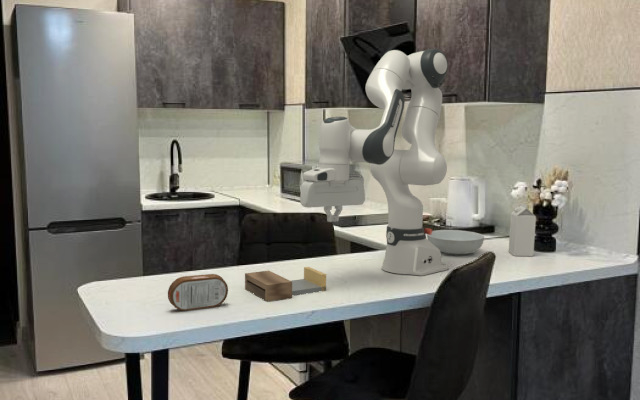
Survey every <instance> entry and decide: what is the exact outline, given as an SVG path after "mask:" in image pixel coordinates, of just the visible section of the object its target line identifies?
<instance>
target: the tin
mask: <svg viewBox="0 0 640 400" xmlns="http://www.w3.org/2000/svg"><path fill="white" fill-rule="evenodd" d="M228 294H229V286H228V283H227V282H226V281H225V280H224V278H223V277H221V276H220V275H218V274H216V273H208V274H207V273H206V274H198V275H197V274H196V275H195V274H194V275H185V276H180V277H178V278H175V280H173V281H172V283H171V284H170V285H169V287H168V290H167V298H168V301H169V303H170V304H171V305H172V307H174V308H175V309H177V310H179V311H184V312H185V311H186V312H187V311H195V310H203V309H204V310H205V309H210V308H216V307H219V306H220V305H221V304H224V302H225V301H226V300H227V297H228Z"/></svg>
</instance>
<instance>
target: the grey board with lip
mask: <svg viewBox="0 0 640 400" xmlns="http://www.w3.org/2000/svg"><path fill="white" fill-rule="evenodd" d="M291 281H292V295H294V296H300V294H301V295H307V294H306V293H308V294H313V292H315V293H320V292H319V291H322V292H326V291H327V273H325V272H322V271H320V270H317V269H315V268H312V267H310V266H305V267H303V278H300V279H294V280H291Z"/></svg>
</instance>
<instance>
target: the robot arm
mask: <svg viewBox="0 0 640 400" xmlns="http://www.w3.org/2000/svg"><path fill="white" fill-rule="evenodd" d="M448 70H449V63H448V58H447V56H446V55H445V53H444V52H443V51H442V50H440V49H439V48H438V49H437V48H429V49H428V48H427V49H425V50H423V51H422V50H421V51H417V52H413V53H411V54H409V55H407V54H406V53H405V52H403V51H401V50H399V49H393V50H388V51H387V52H385V53H384V55H383V56H381V58H380V60H378V62H377V63H376V65H375V66H374V67H373V69H372V70H371V72H370V74H369V76H368V78H367V80H366V83H365V88H364V89H365V93H366V96H367V98H368V100H369V101H370V102H371V103H372V104H373V105H374V106H376V107H378V108H379V109H382V110H383V113H382V117H381V120H380V124H379V125H378V126H377V127H375V128H372V129H369V128H368V129H365V128H363V129H362V128H361V129H359V128H356V127H354V126H352V124H351V123H350V121H349V118H348V117H346V116H331V117H328V118H325V119H323V120H322V122H321V126H320V131H319V139H318V140H319V142H318V143H319V144H318V146H319V147H318V148H319V152H320V156H319V161H318V166H317V167H315V168H312V169H310V170H307V171H305V172H302V173H303V174H302V179H303V180H304V181H303V182H302V184H301V187H300V197H299V198H300V199H299V202H300V204H301V206H302V207H305V208H323V211H324V213H325V214H326V221H327V222H328V223H332V222H339V221H340V220H339V219H340V215H341V214H342V211H343V207H344V206H358V205H359V206H360V205H363V204H364V203H365V199H366V195H365V194H366V193H365V184H364V183H365V179H364V176H363V175H361V174H360V173H359V172H355V173H352V172H350V162H354V163H355V162H356V163H368V164H369V171H370V174H371V177H373V179H375V181H377V182H378V184H379V185H380V186H381V188H382V190H383V192H384V194H385V196H386V197H385V198H386V201H387V215H388V217H387V222H388V223H387V225H386V233H385V236H386V237H385V238H386V248H385V253H384V258H383V262H382V265H381V269H382V271H385V272H387V273H393V274H399V275H414V276H426V275H430V274H434V273H437V272H442V271H446V270H447V271H448V270H449V269H450V268H449V265H447V264H446V263H443V261H442V252H440V250H439V249H438V248H437V247H436V246H434V245H433V244H432V243H431V242H430V241H429V240H428V238H427V234H429V235H431V233H432V232H433V231H434V230H433V229H432V228H428V227H426V228H424V227H423V221H424V220H423V219H424V217H423V215H424V205H423V202H422V201H421V200H420V199H419V198H418V197H416V196H415V195H414V194H413V193H412V192H411V189H410V187H409V185H412V186H433V185H434V186H435V185H438V184H441V182H442V181H443V180H444V179H445V178H446V174H447V173H448V166H447V165H448V164H447V161H446V159H445V157H444V155H442V154H441V153H440V152H439V151H438V148H437V147H436V141H435V139H436V138H435V137H436V132H437V127H438V123H439V121H440V117H441V112H442V104H443V93H442V90H441V89H440V88H441V86H442V85H443V84H444V83H445V78H446V77H447V73H448ZM407 90H411V98H410V100H409V102H408V105H407V107H406V111H405V114H404V117H403V121H402V123H401V124H402V125H401V127H400V134H401V137H402V138H403V139H404V140H405V141H406V142H407V143H408V144H411V147H410V149H395V141H396V138H397V137H396V136H397V132H398V130H399V126H400V122H401V120H402V116H403V113H404V109H405V104H406V103H405V95H404V93H403V91H404V92H405V91H407ZM332 207H334V209H335V210H334V213H333V214H332V212H331V211H332Z"/></svg>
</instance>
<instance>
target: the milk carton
mask: <svg viewBox="0 0 640 400" xmlns="http://www.w3.org/2000/svg"><path fill="white" fill-rule="evenodd" d="M536 221H537V216H536V215H535V214H534V213H533V212H532V211H531V210H529V208H528V204H525V203H522V202H520V205H519V206H517V207H515V208H514V210H513V211H512V212H511V213H510V222H509V223H510V224H509V239H508V253H509V254H511V255H512V256H514V257H534V253H535V237H536Z"/></svg>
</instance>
